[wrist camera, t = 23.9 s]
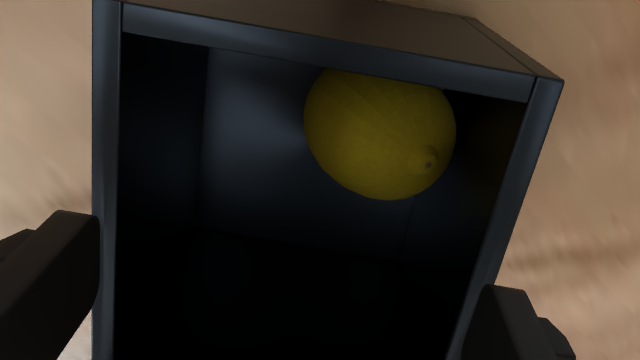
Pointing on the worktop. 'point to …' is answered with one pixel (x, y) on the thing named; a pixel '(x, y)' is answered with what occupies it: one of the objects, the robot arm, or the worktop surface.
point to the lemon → (379, 133)
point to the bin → (294, 181)
